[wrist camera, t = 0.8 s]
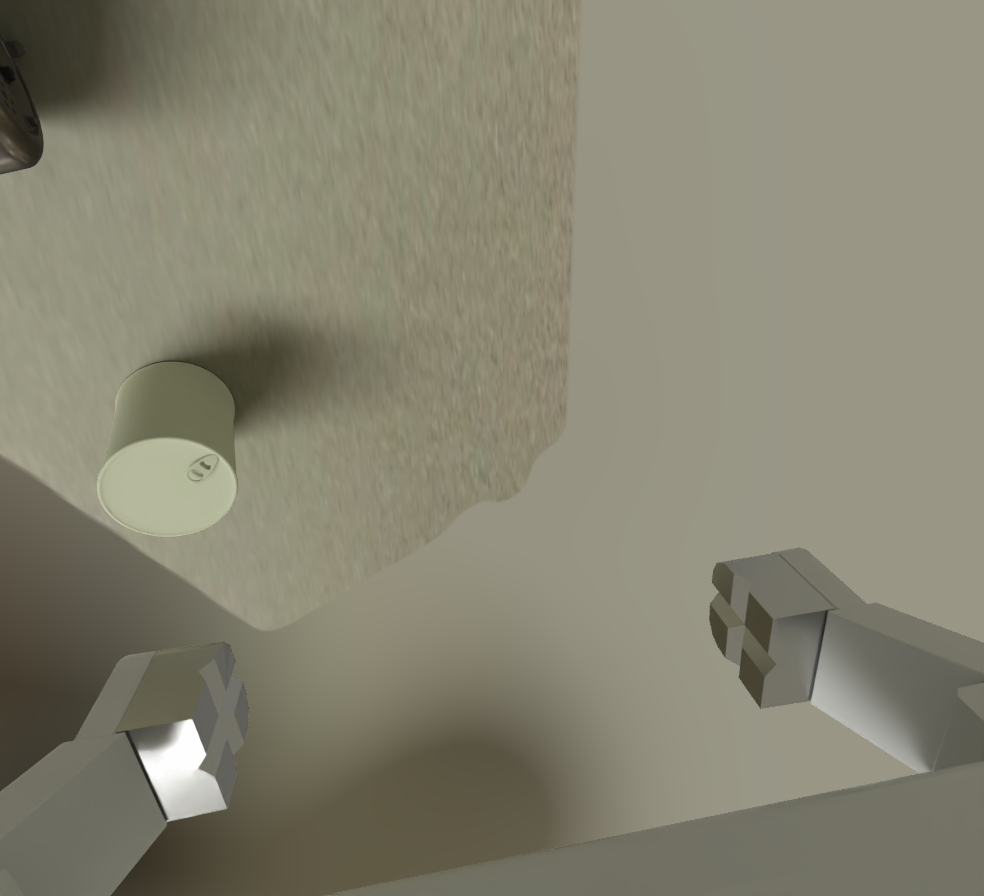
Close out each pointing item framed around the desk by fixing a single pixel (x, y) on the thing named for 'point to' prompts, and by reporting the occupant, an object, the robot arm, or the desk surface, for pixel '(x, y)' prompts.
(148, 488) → the can
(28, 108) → the alarm clock
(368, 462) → the desk surface
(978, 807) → the robot arm
